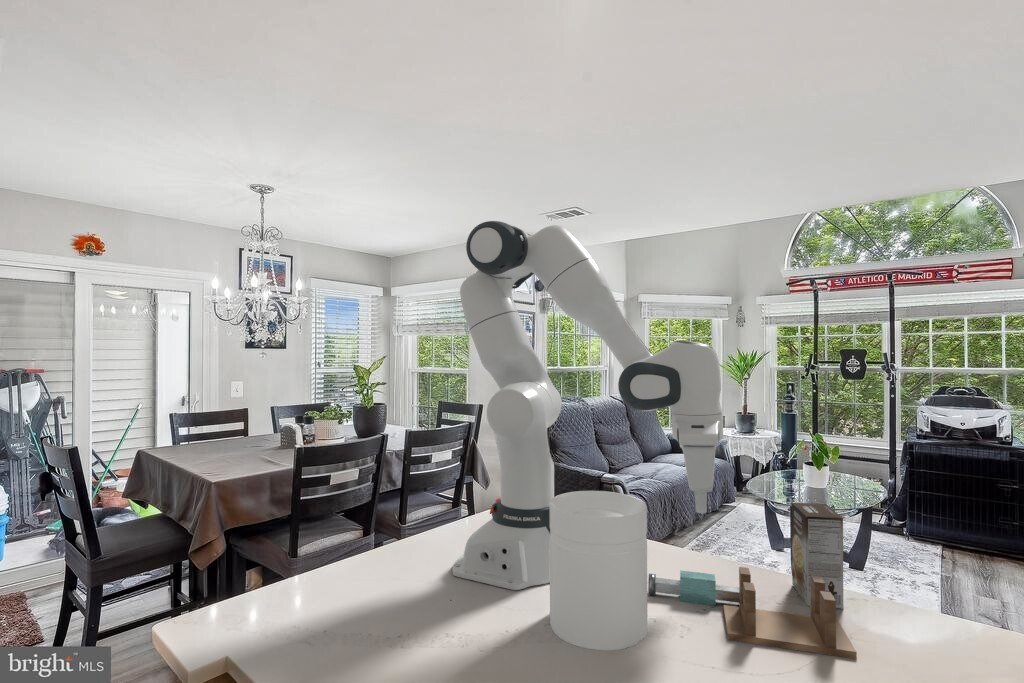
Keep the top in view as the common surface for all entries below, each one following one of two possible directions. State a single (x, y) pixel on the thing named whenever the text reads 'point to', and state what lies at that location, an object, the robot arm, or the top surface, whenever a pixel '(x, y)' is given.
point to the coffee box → (817, 549)
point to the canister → (598, 569)
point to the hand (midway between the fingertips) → (700, 504)
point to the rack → (788, 622)
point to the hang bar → (694, 588)
